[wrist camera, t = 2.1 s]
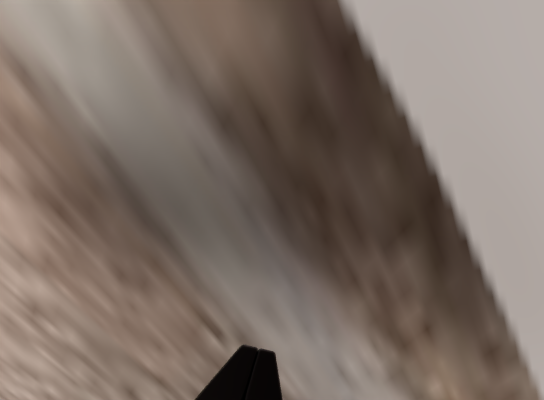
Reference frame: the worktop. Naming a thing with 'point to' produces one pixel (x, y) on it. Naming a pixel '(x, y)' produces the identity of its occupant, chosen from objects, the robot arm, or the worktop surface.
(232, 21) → the worktop surface
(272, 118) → the worktop surface
